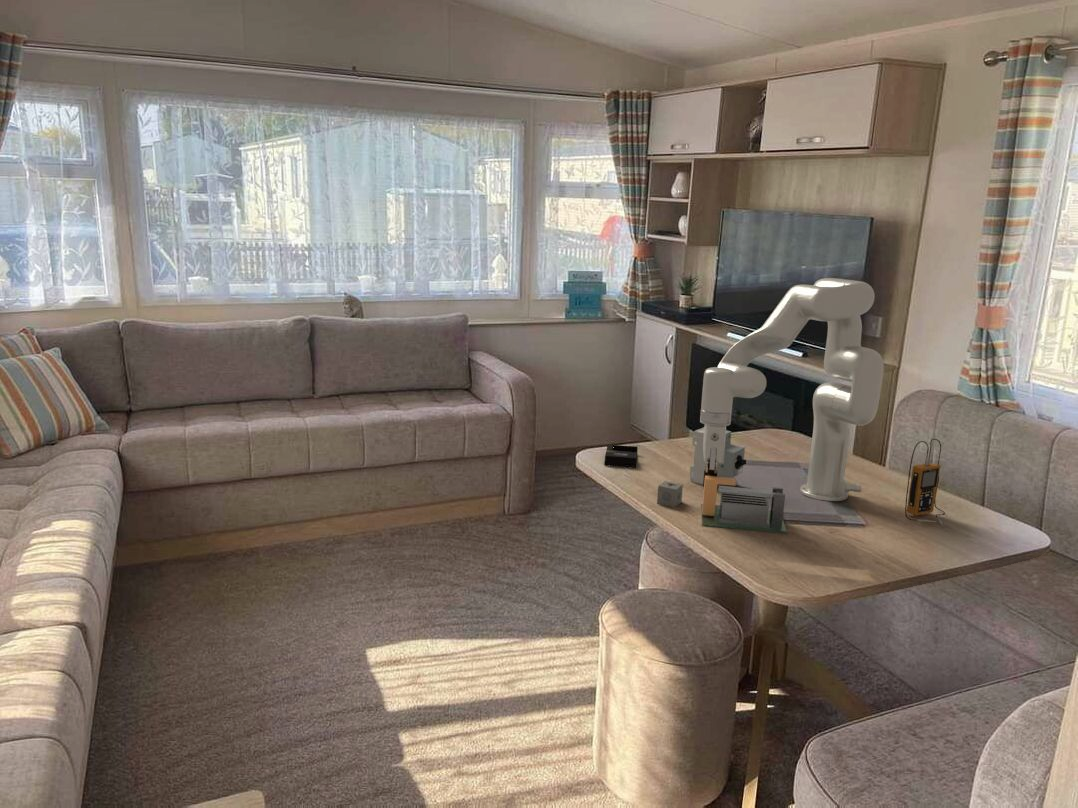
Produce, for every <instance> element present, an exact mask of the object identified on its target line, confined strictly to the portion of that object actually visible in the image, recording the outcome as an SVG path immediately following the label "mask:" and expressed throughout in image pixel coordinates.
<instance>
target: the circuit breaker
mask: <svg viewBox="0 0 1078 808" xmlns="http://www.w3.org/2000/svg"><path fill="white" fill-rule="evenodd" d="M703 439H704V426H703V427H702V428H699V429H696V430H694V431H693V436H692V441H691V443H692V444H691V445H692V447H693V446H694V456H693V464H692V465H691V466H689V467H690V468H689V469H690V471H689V480H688V482H693V483H695V484H699V485H702V486H703V479H704V470H705V466H706V463H705V462H704V455H703ZM731 440H732V431H730V430H727V429H726V439H725V452H724V464H722V465H721V463H719V462H718V464H717V477H728V478H735V477H737V476H738V475H740V474H742V473H743V470H744V465H747V459H745V451H746V450H745V449H746V447H744V446H740V445H735V444H731V442H732V441H731ZM719 485H720V486H722V484H717V488H718V487H719Z"/></svg>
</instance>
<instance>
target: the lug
mask: <svg viewBox="0 0 1078 808" xmlns="http://www.w3.org/2000/svg"><path fill="white" fill-rule="evenodd" d="M717 484H721V486H732V487H736V484H737V481H736V478H735V477H733V478H728V477H717V476H705V482H704V487H703V494H702V495H703V496H702V498H703V499H702V504H703V505H702V511H701V516H702V515H709V516H714V515H715V505H717V504H716V503H717V491H718V487H717Z"/></svg>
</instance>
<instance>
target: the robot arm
mask: <svg viewBox="0 0 1078 808" xmlns="http://www.w3.org/2000/svg"><path fill="white" fill-rule="evenodd" d="M874 302H875V291H874V289H873V287H872V286H871V285H870V284H869V283H867V282H865V281H861V280H860V281H859V280H853V279H844V278H835V277H825V278H820V279H818V280H816V281H815V282H814V284H813V285H812V284H803V283H802V284H796V285H793V286H792V287H790V288H789V290H787V292H786V293H785V295H784V296H783V297H782V298H781V300H780V301H779V302H778V304H777V306H776V307H775V308H774V310H773V311H772V313H770V315H769V316H768V318H767V319H766V320H765V322H764V323H763V324H762V325H761V327H760V328H757V329H756V330H754V331H753V332H751V333H749V334H748V335H746V336H745V337H743V338H741V339H740V340H739V341H737V342H736V343H734V345H732V346H731V347H730V348H729V350H727V352H726V353H725V355H723V357H722V359H721V360H720V361H719V363H718V365H717V367H716V366H714V367H713V366H712V367H708V368H706V369H705V371H704V373H703V381H702V383H703V384H702V394H701V406H700V416H699V422H700V423H701V424H703V425H704V426H703V427H704V439H703V455H704V462H705V463H706V466H705V470H704V479H703V485H702V486H703V488H704V482H705V476H717V464H718V462H719V463H721V465H722V464H724V452H725V439H726V430H727V427H729V426H730V425H731V422H732V414H733V413H732V412H733V411H732V410H733V400H734V398H743V399H744V398H745V399H753V398H756V397H759V396H760V395H761V394H763V393H764V392H765V390H766V388H767V378H766V376H765V375H764V373H763V372H762V371H760V370H758V369H757V368H753V367H750V366H748V365H749V364H750V363H752V361H754V360H756V359H758V358H759V357H761V356H763V355H767V354H771V353H775V352H778V351H782V350H785V349H787V348H788V347H790V346H791V345H792V344H793V342H794V341H795V339H796V338H797V337H798V335H799V334H800V332H801V331H802V329H804V327H805V326H806V325H807V323H808V322H809V320H813V321H819V322H827V334H826V342H825V351H824V358H823V369H824V372H825V373H826V374H827V375H829V376H830V377H832V378H835V379H839V380H843V381H847V382H851V385H848V384H845V383H844V384H843V383H840V382H835V381H827V382H824V383H822V384H819V386H817V388H816V389H815V391H814V393H813V397H812V410H813V411H812V412H813V426H812V427H813V428H812V436H811V437H812V438H811V446H810V455H809V461H808V462H809V463H808V471H807V479H806V483H804V484H802V485H801V486H800V488H799V489H800V493H801V494H803V495H804V496H805V497H808V498H810V499H811V498H812V499H816V500H820V501H824V502H825V501H826V502H841V501H845V500H847V499H848V498H849V497H848V496H849V492H854V493H862V487H863V486H862V485H861V484H855V482H847V481H846V480H845V476H846V475H845V474H846V468H847V458H848V451H849V444H850V435H851V434H850V427H849V424H851V425H855V426H860V427H861V426H866V425H868V424H870V423H871V422H872V421H873V420H874V419H875V417H876V415H877V412H878V409H879V403H880V399H881V392H882V386H883V379H884V373H885V372H884V371H885V370H884V369H885V367H884V364H885V363H884V361H883V358H882V355H881V354H880V353H879V352H878V351H876V350H875V349H872V348H869V347H864V346H862V344H861V343H862V342H861V341H862V331H863V325H862V324H863V322H862V318H861V315H863V314H866V313H867V312H868V311H869V310H870V309H871V308H872V306H873V305H874Z"/></svg>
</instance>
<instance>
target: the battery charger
mask: <svg viewBox="0 0 1078 808" xmlns="http://www.w3.org/2000/svg"><path fill="white" fill-rule="evenodd" d="M613 447H614V448H613ZM638 449H639V448H638V446H636V445H623V444H622V445H619V444H607V446H606V450H605V453H604V463H603V465H604V466H605V465H610V466H609V467H618V468H629V467H630V466H633V467H632V468H631V469H637V463H638Z"/></svg>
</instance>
